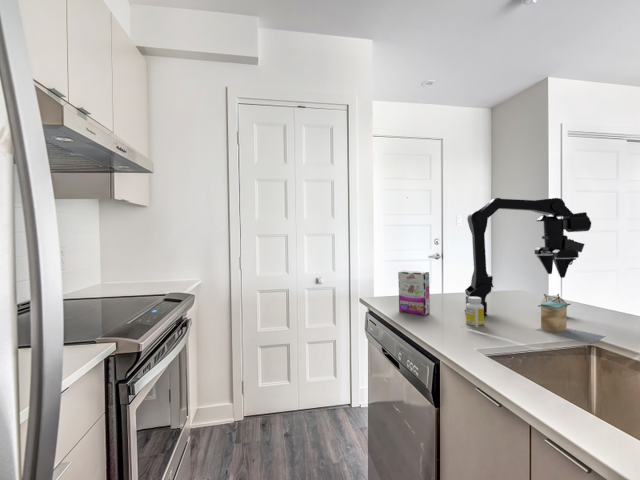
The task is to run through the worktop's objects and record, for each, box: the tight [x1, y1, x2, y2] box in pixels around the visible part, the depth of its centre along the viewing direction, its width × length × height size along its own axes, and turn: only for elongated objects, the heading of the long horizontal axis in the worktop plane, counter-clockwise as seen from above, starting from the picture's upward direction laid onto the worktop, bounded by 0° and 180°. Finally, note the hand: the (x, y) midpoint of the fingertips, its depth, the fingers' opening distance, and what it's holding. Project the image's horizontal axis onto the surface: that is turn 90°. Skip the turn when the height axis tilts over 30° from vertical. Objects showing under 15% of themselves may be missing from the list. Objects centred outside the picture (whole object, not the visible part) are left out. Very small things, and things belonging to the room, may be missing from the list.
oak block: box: [540, 302, 568, 333], centre depth 96 cm, size 4×6×8 cm
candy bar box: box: [397, 270, 431, 316], centre depth 122 cm, size 11×5×16 cm, turn 49°
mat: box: [535, 327, 606, 344], centre depth 93 cm, size 14×10×1 cm
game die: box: [538, 293, 572, 308], centre depth 113 cm, size 9×8×10 cm
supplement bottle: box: [465, 296, 485, 328], centre depth 103 cm, size 5×5×10 cm
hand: (555, 275), depth 111 cm, fingers open, 9 cm apart
